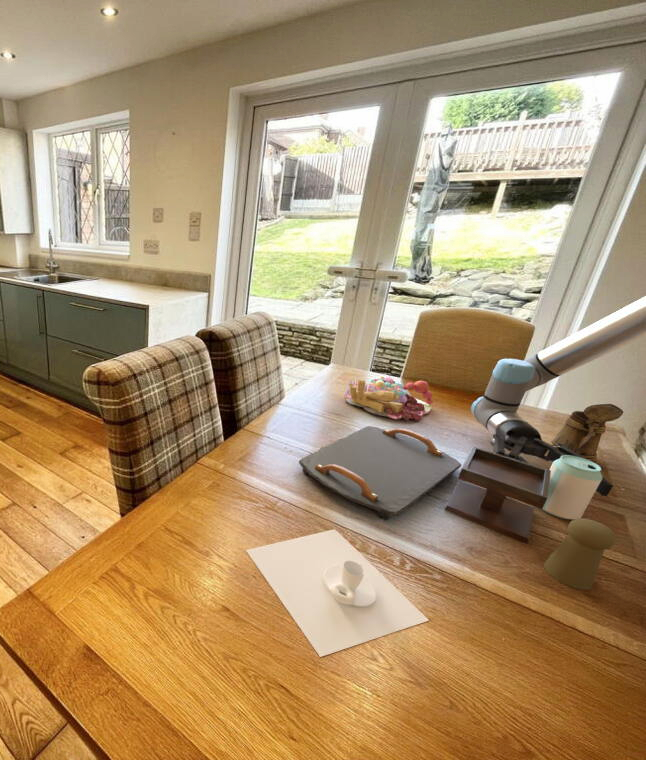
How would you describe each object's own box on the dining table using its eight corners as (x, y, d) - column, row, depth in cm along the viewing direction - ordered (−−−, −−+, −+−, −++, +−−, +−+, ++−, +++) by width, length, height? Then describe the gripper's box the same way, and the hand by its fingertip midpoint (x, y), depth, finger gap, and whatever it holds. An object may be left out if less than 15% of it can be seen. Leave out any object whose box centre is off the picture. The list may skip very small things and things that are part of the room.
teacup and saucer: (343, 615, 61) (348, 596, 59) (308, 574, 68) (313, 556, 66) (387, 601, 63) (394, 582, 62) (350, 562, 70) (355, 545, 69)
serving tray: (385, 532, 77) (393, 507, 75) (286, 473, 95) (290, 451, 93) (465, 469, 97) (473, 448, 95) (371, 430, 115) (376, 411, 113)
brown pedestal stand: (532, 511, 83) (552, 470, 79) (526, 543, 75) (549, 499, 71) (456, 483, 92) (471, 445, 88) (444, 509, 84) (460, 468, 80)
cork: (542, 574, 68) (569, 524, 64) (544, 555, 72) (569, 507, 68) (593, 596, 64) (625, 545, 60) (591, 575, 68) (621, 525, 64)
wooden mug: (553, 463, 100) (583, 399, 94) (544, 441, 111) (571, 382, 104) (603, 475, 96) (640, 409, 89) (589, 451, 106) (621, 390, 99)
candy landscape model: (414, 429, 116) (423, 401, 112) (333, 403, 132) (339, 378, 128) (436, 405, 132) (444, 379, 128) (361, 384, 148) (367, 361, 144)
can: (557, 499, 87) (581, 453, 82) (590, 522, 80) (617, 473, 76) (524, 498, 87) (546, 452, 83) (554, 521, 81) (580, 472, 76)
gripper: (565, 454, 98) (636, 512, 78) (453, 437, 104) (493, 487, 85) (579, 427, 95) (656, 481, 75) (463, 412, 101) (506, 457, 82)
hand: (570, 484), depth 80 cm, fingers open, 11 cm apart
